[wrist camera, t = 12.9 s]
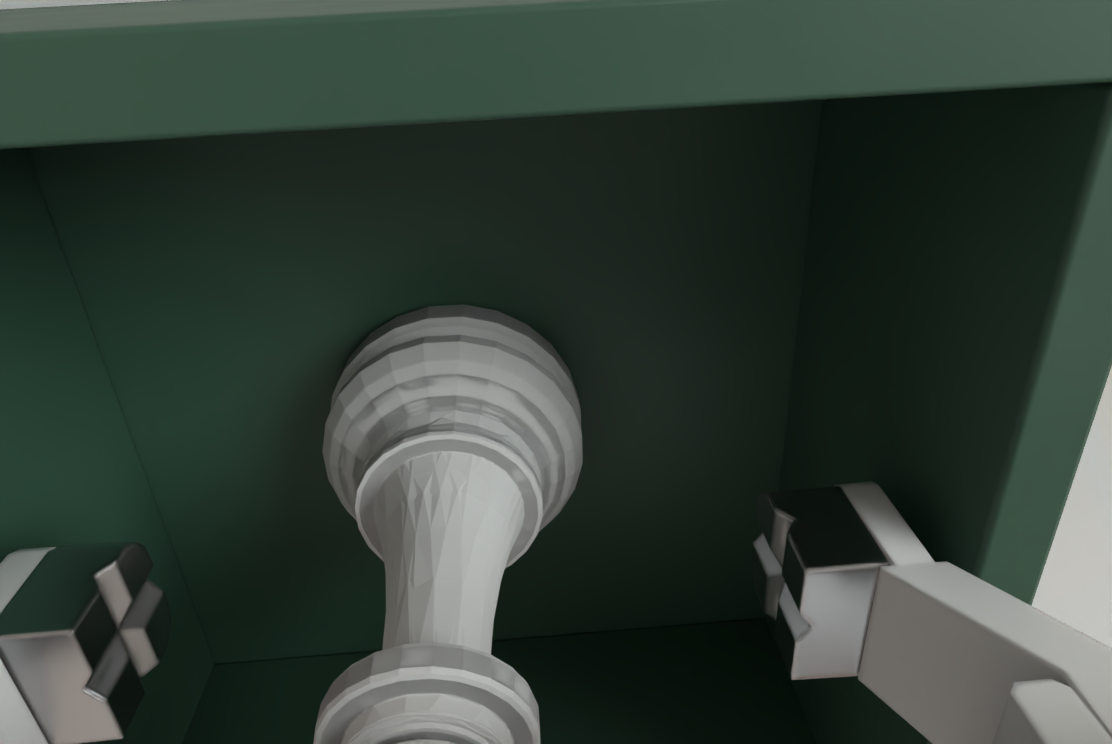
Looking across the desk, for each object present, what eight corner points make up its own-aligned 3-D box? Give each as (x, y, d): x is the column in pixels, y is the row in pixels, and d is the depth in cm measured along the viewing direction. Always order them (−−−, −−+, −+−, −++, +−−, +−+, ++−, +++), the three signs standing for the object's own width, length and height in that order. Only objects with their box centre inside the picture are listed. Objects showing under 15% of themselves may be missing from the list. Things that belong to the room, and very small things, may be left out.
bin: (-54, 12, 11) (-662, 70, 5) (874, -38, 12) (1250, -37, 6) (198, 669, 18) (48, 1021, 12) (786, 620, 18) (923, 933, 12)
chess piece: (565, 511, 15) (655, 1256, 6) (340, 502, 15) (107, 1291, 6) (592, 308, 13) (774, 995, 4) (331, 292, 13) (-39, 1017, 4)
